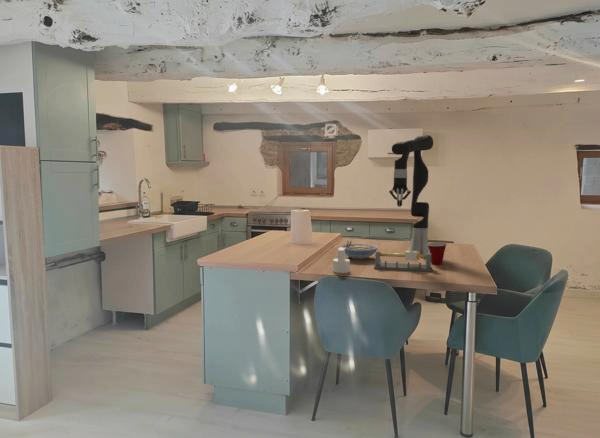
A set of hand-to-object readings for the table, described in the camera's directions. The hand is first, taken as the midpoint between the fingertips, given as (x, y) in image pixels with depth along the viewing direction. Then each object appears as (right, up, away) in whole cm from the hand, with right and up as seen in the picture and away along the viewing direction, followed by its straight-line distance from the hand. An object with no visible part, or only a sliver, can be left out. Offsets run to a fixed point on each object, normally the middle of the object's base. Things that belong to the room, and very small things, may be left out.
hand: (399, 206), depth 262 cm
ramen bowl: (-23, -31, +9) cm, 40 cm away
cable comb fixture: (-2, -34, -17) cm, 38 cm away
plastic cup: (+20, -33, -6) cm, 39 cm away
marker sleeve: (+2, -30, -18) cm, 35 cm away
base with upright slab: (-36, -35, -24) cm, 56 cm away
